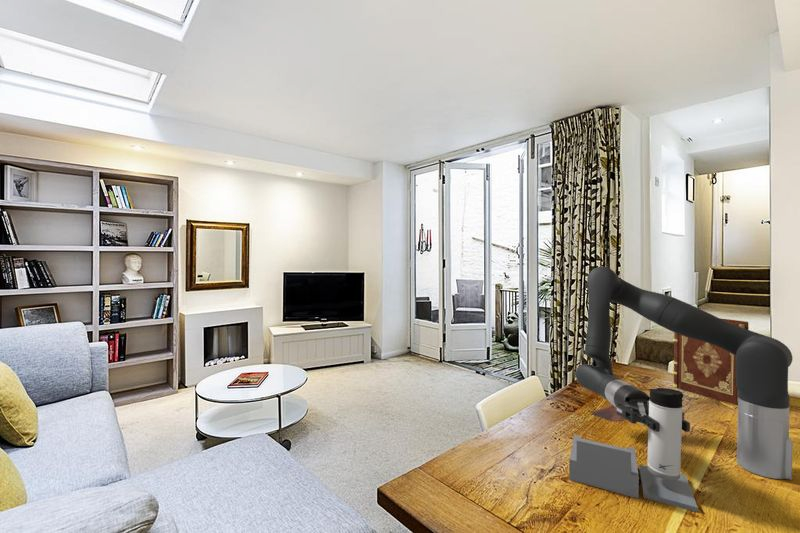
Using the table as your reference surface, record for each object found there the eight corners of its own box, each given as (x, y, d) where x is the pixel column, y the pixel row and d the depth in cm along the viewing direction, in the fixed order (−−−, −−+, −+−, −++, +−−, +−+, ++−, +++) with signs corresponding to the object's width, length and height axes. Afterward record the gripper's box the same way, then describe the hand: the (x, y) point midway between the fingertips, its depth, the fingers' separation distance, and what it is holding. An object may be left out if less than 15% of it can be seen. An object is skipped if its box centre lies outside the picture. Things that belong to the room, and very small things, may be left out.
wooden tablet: (613, 421, 117) (586, 405, 126) (612, 427, 117) (585, 411, 126) (664, 408, 127) (636, 395, 137) (663, 414, 128) (636, 400, 137)
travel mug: (667, 484, 81) (670, 395, 80) (640, 467, 87) (642, 385, 86) (688, 479, 82) (691, 392, 81) (660, 463, 89) (663, 382, 88)
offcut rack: (634, 467, 93) (634, 428, 93) (638, 498, 81) (639, 454, 80) (573, 452, 100) (574, 416, 99) (569, 479, 88) (569, 438, 87)
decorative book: (668, 385, 152) (669, 314, 151) (680, 383, 155) (681, 313, 154) (736, 405, 131) (738, 323, 131) (747, 401, 135) (749, 321, 134)
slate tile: (685, 479, 88) (685, 475, 88) (697, 512, 76) (697, 507, 76) (638, 468, 92) (639, 464, 92) (643, 497, 81) (643, 493, 81)
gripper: (600, 384, 98) (642, 411, 82) (653, 384, 98) (705, 411, 82) (600, 411, 99) (641, 444, 82) (652, 411, 99) (704, 444, 82)
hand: (673, 427), depth 82 cm, fingers closed on travel mug, 6 cm apart
